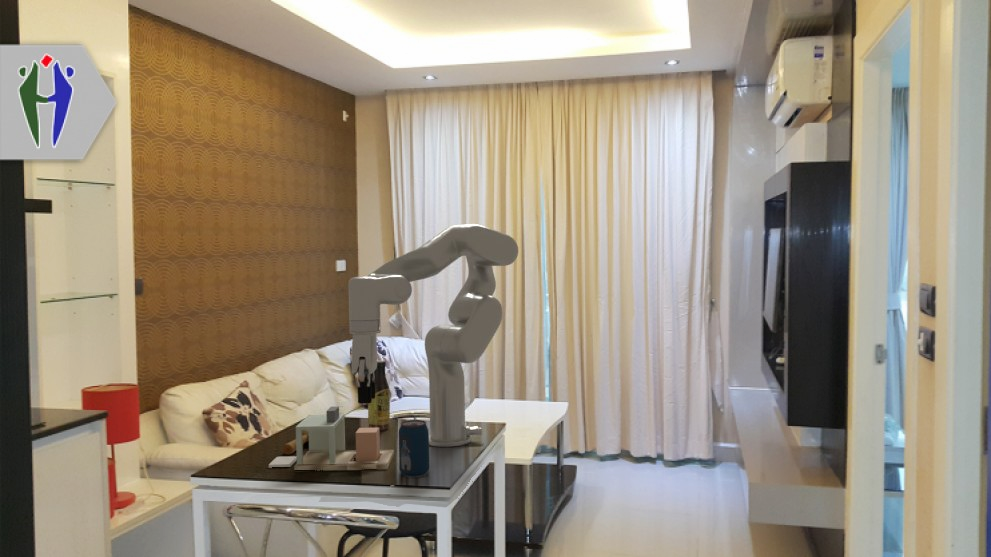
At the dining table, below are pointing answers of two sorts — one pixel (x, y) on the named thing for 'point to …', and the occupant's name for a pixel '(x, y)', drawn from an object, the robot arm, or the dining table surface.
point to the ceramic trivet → (283, 461)
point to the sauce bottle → (380, 400)
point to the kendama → (291, 446)
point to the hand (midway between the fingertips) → (366, 399)
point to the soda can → (414, 448)
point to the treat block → (367, 444)
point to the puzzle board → (342, 461)
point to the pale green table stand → (322, 433)
